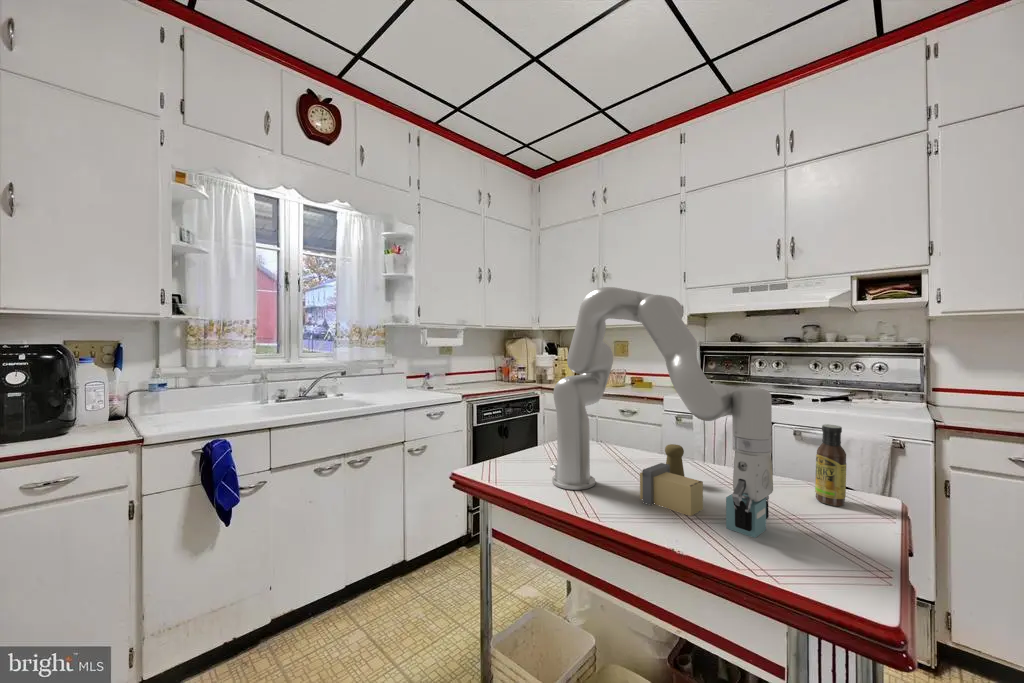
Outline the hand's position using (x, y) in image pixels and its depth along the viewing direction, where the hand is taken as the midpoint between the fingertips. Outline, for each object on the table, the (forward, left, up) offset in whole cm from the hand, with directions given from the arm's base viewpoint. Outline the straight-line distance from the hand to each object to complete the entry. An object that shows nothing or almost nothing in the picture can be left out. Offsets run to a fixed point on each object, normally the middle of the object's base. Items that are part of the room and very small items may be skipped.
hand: (752, 522), depth 93 cm
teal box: (-1, 0, -2) cm, 2 cm away
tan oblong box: (-20, 0, -2) cm, 20 cm away
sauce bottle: (+6, +32, -2) cm, 33 cm away
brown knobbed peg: (-28, +16, -2) cm, 32 cm away
